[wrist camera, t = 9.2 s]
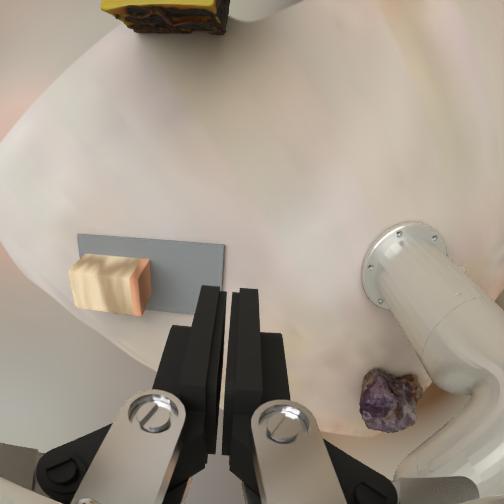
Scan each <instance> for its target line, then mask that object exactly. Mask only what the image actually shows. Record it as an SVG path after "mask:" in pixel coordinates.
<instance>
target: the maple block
mask: <svg viewBox="0 0 504 504" xmlns="http://www.w3.org/2000/svg"><path fill="white" fill-rule="evenodd" d="M68 273H69V278H70V283H71V288H72V293H73V298H74V303H75V307H79V308H85V309H91V310H98V311H105V312H112V313H119V314H127V315H134V316H142V314H143V312H144V310H145V308H146V306H147V303H148V301H149V299H150V297H151V295H152V289H151V274H150V259H141V258H130V257H119V256H108V255H97V254H85V255H84V256H83V257H82V258H81V259H80V260H79V261H78V262H77V263H76V264H75V265H74V266H73V267H72V268H71V269H70V270H69V271H68Z"/></svg>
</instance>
